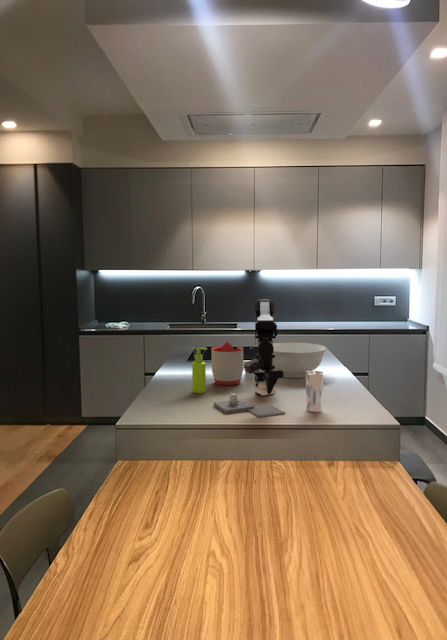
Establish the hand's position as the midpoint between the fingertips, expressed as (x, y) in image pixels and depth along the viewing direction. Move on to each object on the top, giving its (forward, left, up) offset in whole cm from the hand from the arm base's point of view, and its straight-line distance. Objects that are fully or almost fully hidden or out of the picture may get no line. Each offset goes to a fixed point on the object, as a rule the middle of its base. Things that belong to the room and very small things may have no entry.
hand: (265, 392), depth 195 cm
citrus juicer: (-6, -50, -8) cm, 51 cm away
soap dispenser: (+12, -40, -8) cm, 42 cm away
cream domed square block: (0, 0, 0) cm, 0 cm away
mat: (0, 0, -8) cm, 8 cm away
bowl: (-43, -51, -8) cm, 67 cm away
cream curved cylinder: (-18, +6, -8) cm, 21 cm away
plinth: (+9, -10, -8) cm, 16 cm away
